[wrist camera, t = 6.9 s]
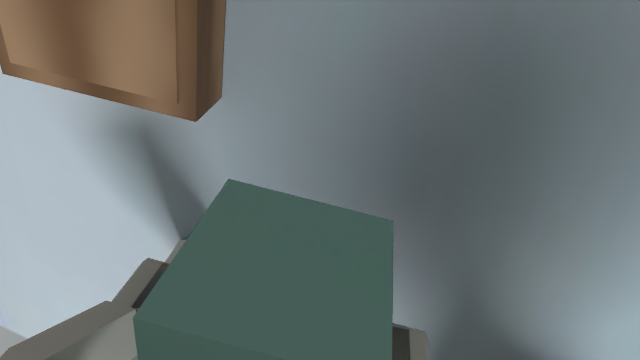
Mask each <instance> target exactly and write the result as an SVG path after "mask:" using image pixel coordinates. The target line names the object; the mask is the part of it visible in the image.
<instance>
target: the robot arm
mask: <svg viewBox="0 0 640 360" xmlns="http://www.w3.org/2000/svg"><path fill="white" fill-rule="evenodd" d="M168 266H169V264H168V263H165V262H161V261H158V260H154V259H151V258H147V259H146V260H145V261H143V262H142V263H141V265H140V266H139V267H138V268H137V270H136V271H135V272H134V274H133V275H132V276H131V277H130V279H129V280H128V281H127V282H126V284H125V285H124V286H123V288H122V289H121V290H120V291H119V293H118V294H117V295H116V296H115V298H114V299H113V300H112V302H110V301H104V302H102V303H100V304H98V305H96V306H94V307H92V308H90V309H88V310H86V311H84V312H82V313H80V314H78V315H76V316H74V317H72V318H70V319H68V320H66V321H64V322H61V323H59V324H57V325H55V326H53V327H51V328H49V329H47V330H45V331H43V332H41V333H39V334H37V335H35V336H33V337H31V338H29V339H27V340H25V341H23V342H21V343H19V344H17V345H15V346H12V347H10V348H9V349H8V350H7V351H6V352H5V353H4V354H3V355H2V356H1V357H0V360H131V359H132V358H134V357H135V356H136V355H137V348H136V341H135V333H134V325H133V317H134V315H135V314H136V312H137V311H138V309H139V308H140V306H141V305H142V304H143V302H144V301H145V299H146V298H147V296H148V295H149V293H150V292H151V291H152V289H153V288H154V286H155V285H156V283H157V282H158V280H159V279H160V277H161V276H162V275H163V273H164V272H165V270H166V269H167V267H168ZM392 360H429V352H428V340H427V334H426V332H424V331H420V330H416V329H412V328H409V327H406V326H402V325H398V324H394V323H392Z"/></svg>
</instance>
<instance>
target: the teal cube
mask: <svg viewBox="0 0 640 360" xmlns="http://www.w3.org/2000/svg"><path fill="white" fill-rule="evenodd" d="M392 315H393V221H391V220H387V219H383V218H379V217H375V216H371V215H368V214H364V213H360V212H356V211H352V210H348V209H344V208H340V207H336V206H332V205H329V204H325V203H321V202H317V201H313V200H309V199H305V198H301V197H297V196H293V195H290V194H286V193H282V192H278V191H274V190H270V189H266V188H262V187H258V186H254V185H251V184H247V183H243V182H239V181H235V180H231V179H228V180H227V182H226V183H225V185H224V186H223V188H222V189H221V191H220V192H219V193H218V195H217V196H216V198H215V199H214V201H213V202H212V204H211V205H210V206H209V208H208V209H207V211H206V212H205V214H204V215H203V217H202V218H201V220H200V221H199V222H198V224H197V225H196V227H195V228H194V230H193V231H192V233H191V234H190V235H189V237H188V238H187V240H186V241H185V243H184V244H183V246H182V247H181V248H180V250H179V251H178V253H177V254H176V256H175V257H174V259H173V260H172V262H171V263H170V264H169V266H168V267H167V269H166V270H165V272H164V273H163V275H162V276H161V277H160V279H159V280H158V282H157V283H156V285H155V286H154V288H153V289H152V291H151V292H150V293H149V295H148V296H147V298H146V299H145V301H144V302H143V304H142V305H141V306H140V308H139V309H138V311H137V312H136V314H135V315H134V317H133V325H134V333H135V341H136V348H137V356H138V360H392Z"/></svg>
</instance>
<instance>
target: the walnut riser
mask: <svg viewBox="0 0 640 360" xmlns="http://www.w3.org/2000/svg"><path fill="white" fill-rule="evenodd" d="M225 13H226V0H0V65H1V69H2V72H3V74H6V75H10V76H14V77H18V78H22V79H26V80H30V81H34V82H38V83H42V84H46V85H50V86H54V87H58V88H62V89H66V90H70V91H74V92H78V93H82V94H86V95H90V96H94V97H98V98H102V99H106V100H110V101H114V102H118V103H122V104H126V105H130V106H134V107H138V108H142V109H146V110H150V111H154V112H158V113H162V114H166V115H171V116H175V117H179V118H183V119H187V120H191V121H195V122H196V121H198V120H199V119H200V118H201V117H202V116H203V115H204V114H205V113H206V112H207V111H208V110H209V109H210V108H211V107H212V106H213V105H214V104H215V103H216V102H217V101H218V100H219V99H220V98H221V96H222V75H223V54H224V33H225Z"/></svg>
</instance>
